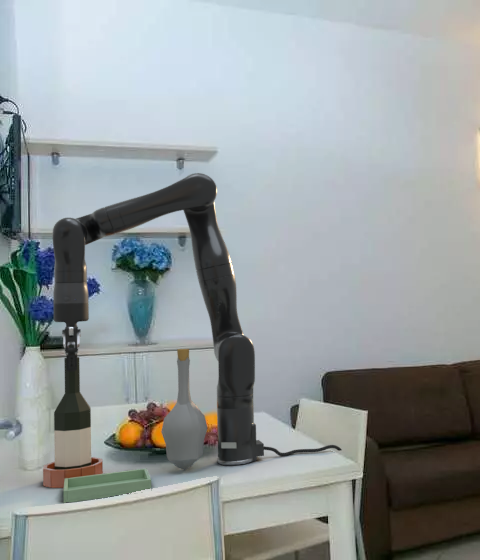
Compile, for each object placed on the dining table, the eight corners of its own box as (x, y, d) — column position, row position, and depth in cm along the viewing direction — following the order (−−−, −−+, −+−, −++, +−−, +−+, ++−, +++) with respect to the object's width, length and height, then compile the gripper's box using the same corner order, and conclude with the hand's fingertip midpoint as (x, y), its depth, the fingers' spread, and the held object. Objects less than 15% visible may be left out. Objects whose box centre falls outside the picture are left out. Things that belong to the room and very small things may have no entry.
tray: (147, 479, 161) (146, 468, 161) (151, 491, 151) (151, 479, 151) (64, 490, 153) (64, 478, 154) (63, 503, 143) (63, 491, 143)
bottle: (155, 469, 170) (153, 349, 171) (199, 461, 177) (197, 346, 178) (169, 478, 161) (167, 351, 162) (215, 470, 168) (213, 348, 169)
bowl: (101, 470, 170) (101, 454, 170) (103, 482, 159) (103, 465, 159) (44, 477, 165) (44, 461, 165) (42, 490, 153) (41, 473, 153)
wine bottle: (98, 475, 166) (97, 352, 167) (83, 484, 158) (81, 355, 158) (64, 476, 166) (62, 353, 166) (47, 485, 157) (45, 356, 158)
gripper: (88, 301, 158) (89, 371, 157) (88, 301, 171) (89, 366, 170) (52, 302, 155) (53, 373, 154) (54, 302, 167) (55, 368, 167)
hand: (72, 369), depth 162 cm, fingers open, 8 cm apart
